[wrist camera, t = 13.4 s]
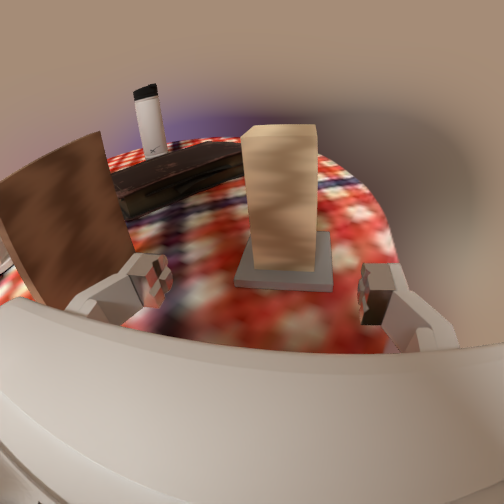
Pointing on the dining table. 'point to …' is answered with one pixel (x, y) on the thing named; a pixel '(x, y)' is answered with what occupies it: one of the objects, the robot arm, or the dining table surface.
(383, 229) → the dining table surface
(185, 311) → the dining table surface
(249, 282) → the slate coaster
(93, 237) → the screen
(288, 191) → the tan boxy piece
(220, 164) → the diary
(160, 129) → the travel mug
